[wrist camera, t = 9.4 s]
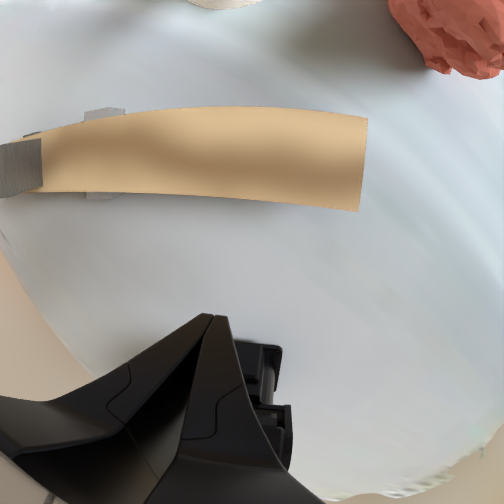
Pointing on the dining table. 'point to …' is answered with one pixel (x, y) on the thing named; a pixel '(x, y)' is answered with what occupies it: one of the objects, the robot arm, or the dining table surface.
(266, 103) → the dining table surface
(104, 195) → the stand
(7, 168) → the block
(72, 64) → the dining table surface
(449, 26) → the anatomical model
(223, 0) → the figurine
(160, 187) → the beam
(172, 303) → the dining table surface
